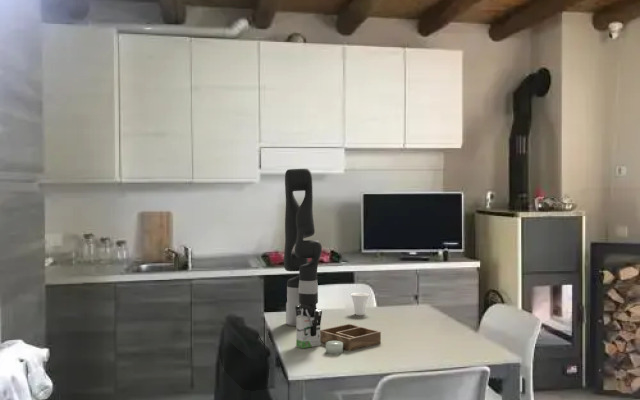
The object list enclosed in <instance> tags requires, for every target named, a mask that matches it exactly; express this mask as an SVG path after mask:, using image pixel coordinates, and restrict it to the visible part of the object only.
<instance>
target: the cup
mask: <svg viewBox="0 0 640 400" xmlns="http://www.w3.org/2000/svg"><path fill="white" fill-rule="evenodd" d="M370 295H371V294H370V293H366V292H353V293H351V294H350V296H351V298H352V299H351V300H352V302H353V309H354V310H353V311H354V315H355V314H356V316H365V315H366V313H367V312H366V309H367V302H368V299H369V297H370Z"/></svg>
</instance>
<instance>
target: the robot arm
mask: <svg viewBox="0 0 640 400" xmlns="http://www.w3.org/2000/svg"><path fill="white" fill-rule="evenodd" d="M284 188H285V189H284V191H285V192H284V193H285V194H284V195H285V213H284V237H285V238H284V241H285V243H284V251H283V252H284V253H283V254H284V255H283V267H284V270H285V271H286V272H298V273H299V274H298V275H296V276H294V277H291V278H289V279H287V282H286V283H287V284H286V298H287V299H286V300H287V301H286V303H285V312H286V313H285V319H286V320H285V323H286V324H287V326H291V327H296V317H297V316H299V315H302V316H307V317H308V319H309V321H310V325H311V336H316V327H317V326H318V325H320V326H321V322H322V315H323V311H322V310H319V309H318V307H317V304H318V303H319V285H318V267H319V262H320V258H321V256H322V255H321V253H322V249H323V248H322V243H321V242H320V241H319V240H316V239H315V240H314V239H312V240H310V239H309V240H307V239H306V238H310V237H312V236H314V235H315V231H316V230H315V221H314V212H313V210H314V209H313V201H314V200H313V196H314V195H313V177H312V171H311V170H310V169H309V168H290V169H287V170H286V171H285V175H284ZM294 192H304V197H303V200H302V202H301V203H300V204H299V202H298V201H297V199H296V197H295V195H294ZM304 239H306V240H304ZM293 249H294V250H293ZM309 259H311V260H310V261H309ZM311 317H315V318H311ZM313 320H314V323H313ZM317 320H318V322H317Z"/></svg>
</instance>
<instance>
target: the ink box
mask: <svg viewBox="0 0 640 400" xmlns="http://www.w3.org/2000/svg"><path fill="white" fill-rule="evenodd" d="M311 318H315V317H311ZM317 322H318V320H317ZM313 323H314V320H313ZM295 327H296V335H295V336H296V338H295V339H296V340H295V341H296V343H295V345H296V346H295V347H299V348H301V349H307V348H308V349H309V348H311V347H312V348H313V347H319V346H321V342H320V330H321V324H320V325H318V326H317V327H316V336H311V325H310V321H309V319H308V317H307V316H302V315H299V316H297V317H296V326H295Z"/></svg>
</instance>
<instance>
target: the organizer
mask: <svg viewBox="0 0 640 400" xmlns="http://www.w3.org/2000/svg"><path fill="white" fill-rule="evenodd" d="M381 333H382V332H381V331H379V330H375V329H371V328H368V327H364V326H361V325H360V326H359V325H356V324H352V323H348V324H342V325H338V326H333V327H327V328H323V329H320V343H322V344H325V345H326V342H328V341H341V342H343V350H346V351H348V352H353V351H354V350H359V349H364V348H366V347H370V346H375V345H379V344H381V340H382V337H381V336H382V334H381Z"/></svg>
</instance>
